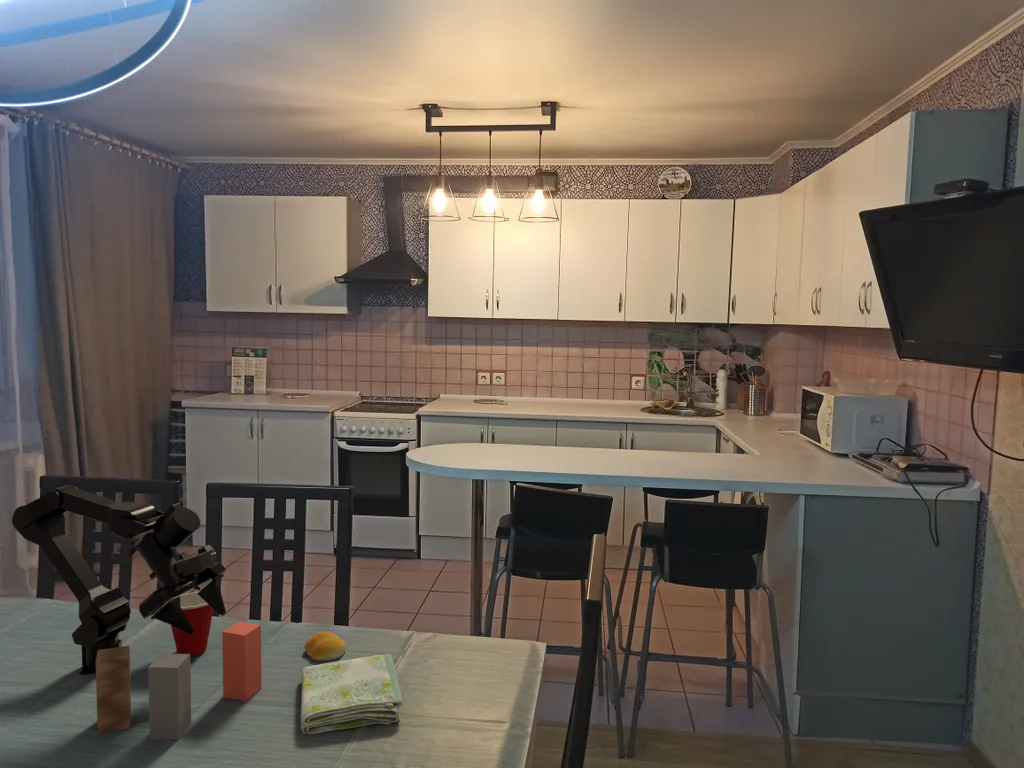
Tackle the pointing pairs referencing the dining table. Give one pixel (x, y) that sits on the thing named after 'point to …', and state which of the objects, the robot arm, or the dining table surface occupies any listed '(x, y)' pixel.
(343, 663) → the towel
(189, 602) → the plastic cup
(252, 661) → the red block
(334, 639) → the bread roll
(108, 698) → the walnut block
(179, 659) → the gray block
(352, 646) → the dining table surface
